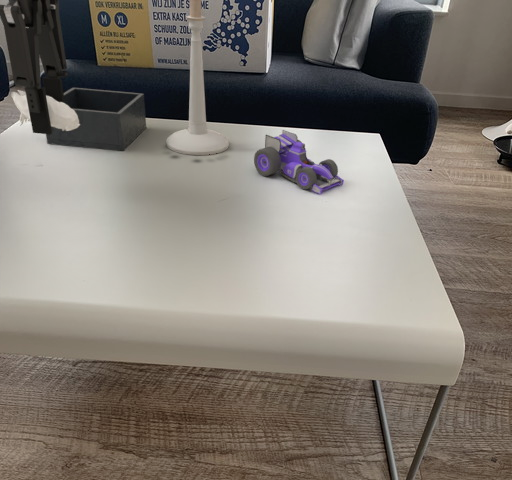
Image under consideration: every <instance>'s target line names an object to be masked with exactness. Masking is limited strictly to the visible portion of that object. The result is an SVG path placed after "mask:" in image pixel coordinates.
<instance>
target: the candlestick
mask: <svg viewBox="0 0 512 480" xmlns="http://www.w3.org/2000/svg"><path fill="white" fill-rule="evenodd" d="M185 18H186V19H187V20H188V28H189V30H190V33H191V38H190V58H189V59H190V61H189V62H190V64H189V102H188V105H189V106H188V107H189V108H188V127H187V128H185V129H181V130H178V131H175V132H174V133H171V134H170V135H169V136H168V137H167V138H166V141H165V142H166V147H167V148H168V149H169V150H171V151H173V152H176V153H178V154H183V155H189V156H210V155H211V156H212V155H216V153H217V154H220V153H223V152H225V151H227V150H228V149H229V147H230V142H229V141H230V140H229V139H228V138H227V137H226V136H225V135H224V134H222V133H219V132H218V131H215V130H212V129H208V127H207V115H206V96H205V81H204V80H205V79H204V63H203V45H202V42H203V40H202V37H201V33H202V30H203V29H204V25H203V24H204V20H206V19H207V18H206V16H203V15H202V0H189V15H186V16H185ZM209 154H210V155H209Z"/></svg>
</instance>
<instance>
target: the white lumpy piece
mask: <svg viewBox="0 0 512 480" xmlns="http://www.w3.org/2000/svg"><path fill="white" fill-rule="evenodd" d="M10 96H11V99H13V103H14V105H15V107H16V108H17V109H18V111H19V112H20V115H19V122H20V125H19V127H21V126H23V124H24V123H25V124H27V123H28V122H31V119H30V114H29V108H28V103H27V98H26V92H25V90H20V89H18V90H17V92H16V91H11V93H10ZM46 99H47V105H48V111H49V117H50V123H51V126H52V127H55V128H58V129H62V131H64V130H66V131H70V130H73V129H76V128H78V127H79V125H80V124H79V119H78V116H77V114H76V112H75V111H74V110H73V109H71V108H70V107H69V106H68V105H66V104H65V103H63V102H58V101H56V100H55V99H53V98H52V97H50V96H47V95H46Z"/></svg>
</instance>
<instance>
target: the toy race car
mask: <svg viewBox="0 0 512 480" xmlns="http://www.w3.org/2000/svg"><path fill="white" fill-rule="evenodd" d="M253 164H254V167H255V169H256V171H257V173H258V174H260V175H261V176H262V177H268V176H271V175H274V174H277V173H278V172H279V171H280V170H282V171H280V172H279V174H280V175H281V176H282V177H284V178H286V179H287V180H289V181H291V182H292V183H296V184H297V186H298V187H299V189H301V190H305V191H306V190H309V189H311V191H312V192H314V193H316V194H319V195H321V194H322V193H323V191H325V190H327V189H330V188H333V187H335V186H338V185H340V186H344V182H345V180H344V179H343V178H341V176H339V175H338V173H339V168H338V164H337V163H336V162H335V161H334V160H333V159H330V158H327V159H324V160H321V161H320V162H319V163H318V164H317V163H315V161H313V160H312V159H309V158H308V156H307V149H306V144H305V143H303V142H302V141H301V140H300V139H298V134H296V133H294V132H290V131H287V130H284V129H281V134H279V135H277V136H271V135H269V134H265V138H264V147H263V148H259V149H258V150H256V151H255V153H254V156H253ZM317 181H323V182H326V183H324V184H320V185H318V184H317Z"/></svg>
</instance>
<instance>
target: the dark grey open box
mask: <svg viewBox="0 0 512 480" xmlns="http://www.w3.org/2000/svg"><path fill="white" fill-rule="evenodd" d="M64 99H65V104H66V105H68V106H69V107H70V108H71V109H73V110H74V111H75V112H76V114H77V116H78V119H79V124H80V125H79V127H78V128H76V129H73V130H70V131H66V130H64V131H62V129H58V128H55V127H52V126H51V129H52V134H50V135H49V134H45V137H46V138H45V139H46V144H48V145H58V146H67V147H79V148H87V149H88V148H90V149H100V150H110V151H121V152H124V151H125V150H126V149H127V148H128V147H129V146H130V145H131V144H132V143H133V142H134V141H135V140H136V139H137V138H138V137H139V136H140V135H141V134H142V133H143V132H144V130H145V129H147V117H146V105H145V93H139V92H129V91H128V92H127V91H117V90H106V89H105V90H104V89H93V88H85V87H84V88H82V87H71V88H69V89H67V90H66V91H65V92H64Z"/></svg>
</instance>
